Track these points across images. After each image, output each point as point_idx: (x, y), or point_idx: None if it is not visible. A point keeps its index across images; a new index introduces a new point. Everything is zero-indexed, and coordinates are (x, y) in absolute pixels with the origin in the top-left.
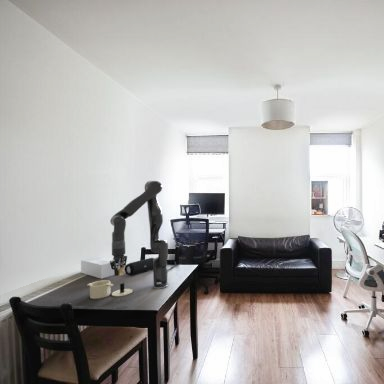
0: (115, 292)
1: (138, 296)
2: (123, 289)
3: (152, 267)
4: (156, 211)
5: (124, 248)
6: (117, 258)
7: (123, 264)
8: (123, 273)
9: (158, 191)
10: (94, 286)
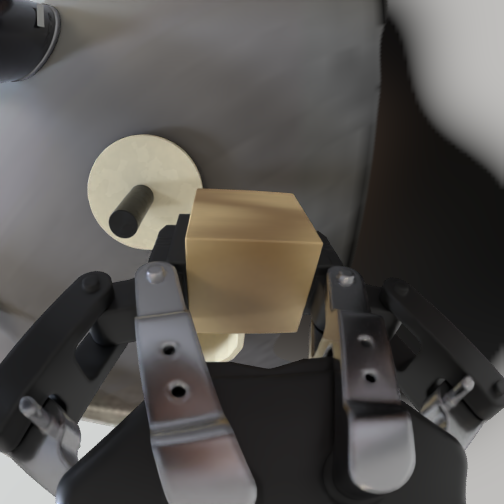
0: (154, 233)
1: (180, 57)
2: (140, 192)
3: None
4: None
5: None
6: (436, 478)
7: (149, 301)
8: (212, 191)
9: None
10: (244, 335)
